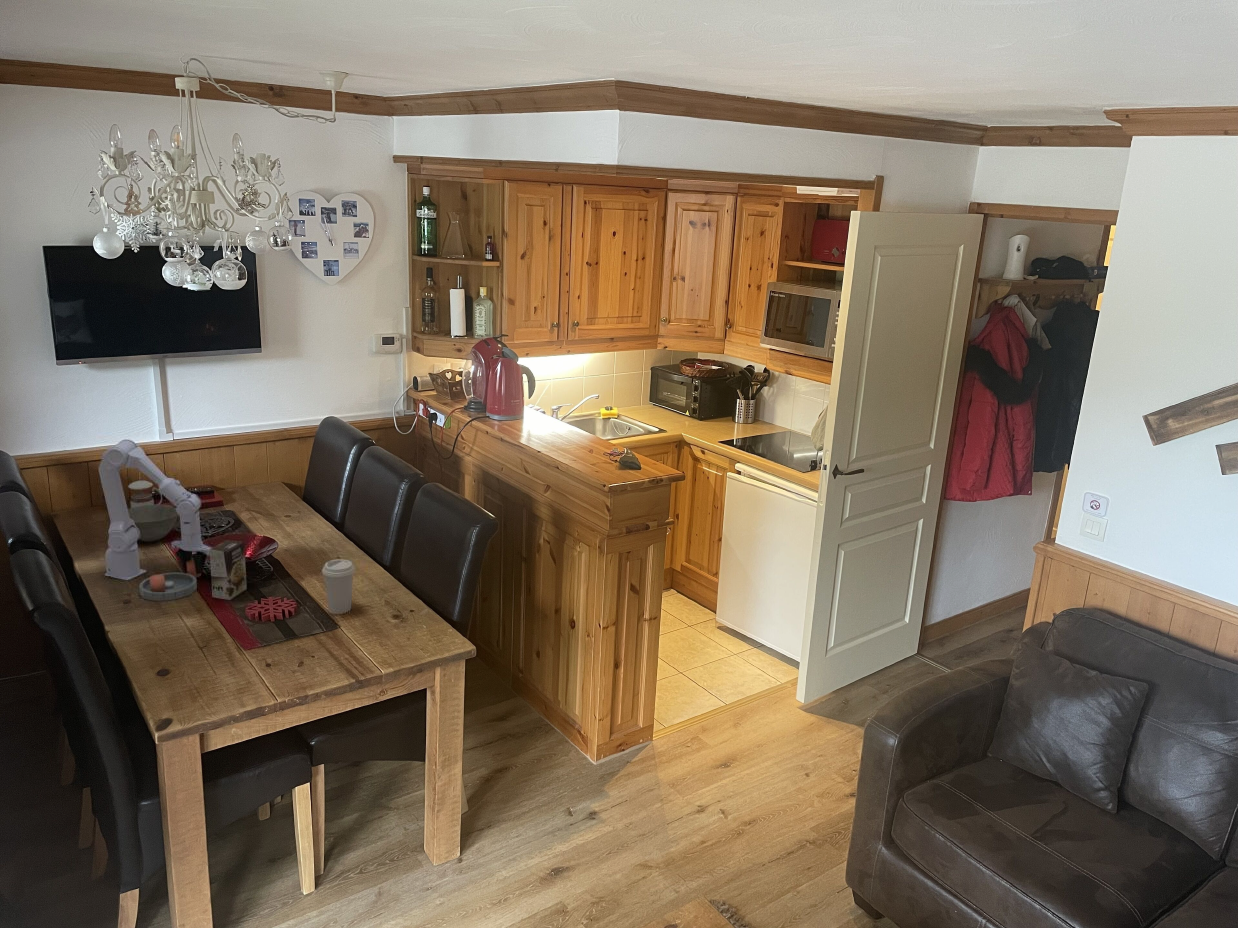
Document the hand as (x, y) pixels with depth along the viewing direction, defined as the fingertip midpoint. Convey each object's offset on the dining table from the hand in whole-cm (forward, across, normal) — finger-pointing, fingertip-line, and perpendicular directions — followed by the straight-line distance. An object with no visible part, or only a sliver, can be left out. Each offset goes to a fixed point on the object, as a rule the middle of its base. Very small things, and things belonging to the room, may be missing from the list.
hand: (193, 571), depth 297 cm
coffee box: (+2, -19, +6) cm, 20 cm away
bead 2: (+1, 0, 0) cm, 1 cm away
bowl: (+2, +35, -19) cm, 40 cm away
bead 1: (0, -1, +16) cm, 16 cm away
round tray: (+1, -1, +12) cm, 12 cm away
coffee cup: (+2, -56, +2) cm, 56 cm away
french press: (+2, +51, -33) cm, 61 cm away
